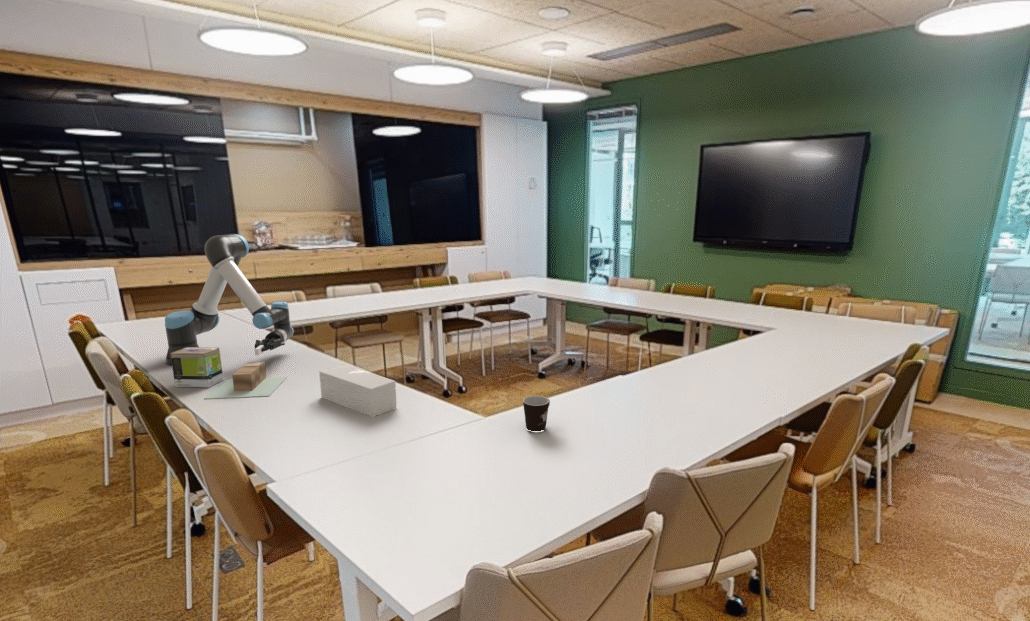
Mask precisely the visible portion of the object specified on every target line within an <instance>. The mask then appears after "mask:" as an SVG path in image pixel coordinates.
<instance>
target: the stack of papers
mask: <svg viewBox="0 0 1030 621" xmlns="http://www.w3.org/2000/svg"><path fill="white" fill-rule="evenodd" d="M318 373H319V384H320V395H321V396H320V397H321V398H323V399H325V400H328V401H330V402H332V403H333V402H334V403H335V404H337V405H341V406H343V407H346V408H348V409H350V408H351V410H354V411H356V412H358V413H361V414H363V413H364V415H366V414H367V415H366V416H368V415H369V416H368V417H371V416H372V418H374V416H375V417H377V416H376V415H378V416H380V415H382V414H381V413H383V414H385V413H388V412H390V411H392V410H391V409H393V410H395V409H397V408H398V407H397V391H396V390H397V389H396V386H397V385H396V382H397V381H396V380H393V379H391V378H387V377H384V376H381V375H377V374H374V373H372V372H368V371H366V370H362V369H358V368H355V367H352V366H350V365H346V364H340V365H338V366H334V367H330V368H327V369H323V370H319V372H318ZM396 407H397V408H396ZM394 408H395V409H394ZM389 410H390V411H389ZM387 411H388V412H387ZM384 412H385V413H384ZM379 414H380V415H379Z"/></svg>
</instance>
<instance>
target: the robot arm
mask: <svg viewBox="0 0 1030 621" xmlns="http://www.w3.org/2000/svg"><path fill="white" fill-rule="evenodd" d="M249 250H250V244H249V243H248V241H247V239H246V238H245V237H244V236H242V235H241V234H237V233H229V234H222V235H221V234H220V235H213V236H211V237H210V238H208V240H206V242H205V245H204V254H205V256H206V259H207V261H208V262H209V264H210V265H211V268H210V270H209V273H208V276H207V278H206V279H205V280H206V281H205V282H204V286H203V288H202V291H201V293H200V295H199V298H198V299H197V300H198V301H196V302H194V303H192V305H191V307H190V310H188V309H187V310H185V309H184V310H179V311H174V312H171V313H169V314H167V315H166V316H165V317H164V326H165V333H166V338H167V345H168V346H167V347H168V349H167V353H166V356H165V357H166V358H165V364H166V365H168V366H172V361H171V354H170V353H173V352H175V351H178V350H181V349H184V348H186V347H200V345H199V344H198V339H197V336H198V335H201V334H204V333H207V332H210V331H212V330H214V329H215V328H216V327H217V326H218V325H219V323H220V316H219V312H220V311H219V309H218V305H219V303H220V302H221V301H220V300H221V298H222V296H223V293H224V291H225V288H226V286H227V284H228V285H229V286H230V288H231V289H232V290H233V292H234V293H235V295H237V297H238V298H239V300H240V301H241V303H242V304H243V305H244V307H246V309H247V310H248V311H249V313H250V314H251V316H252V324H253V326H254V328H256V329H258V330H264V329H268V328H271V327H272V326H273V330H271V331H270V332H269V333H268V334H267V335H266V336H265V338H263V339H262V340H260V339H256V340H255V343H254V354H255V355H254V356H261V354H262V353H265V352H266V351H273V350H275V349H277V348H280V347H282V346H285V344H286V341H288V340H289V339H291V338H292V336H294V332H295V330H294V327H293V326H292V325H291V319H290V309H289V304H288V302H287V301H275V302H272V303H271V304H270V305H271V306H270V308H269V307H268V305H267V304H266V302H265V301H264V300H263V299H262V297H261V296H260V295H259V293H258V292H257V291H256V289H255V287H254V286H252V284H251V282H250V281H249V280H248V278H247V277H246V275H244V272H242V270H241V269H240V268H239V267H238V266H239V264H240V262H241V260H242V258H245V257H246V256H247V255H248V254H249Z"/></svg>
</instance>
